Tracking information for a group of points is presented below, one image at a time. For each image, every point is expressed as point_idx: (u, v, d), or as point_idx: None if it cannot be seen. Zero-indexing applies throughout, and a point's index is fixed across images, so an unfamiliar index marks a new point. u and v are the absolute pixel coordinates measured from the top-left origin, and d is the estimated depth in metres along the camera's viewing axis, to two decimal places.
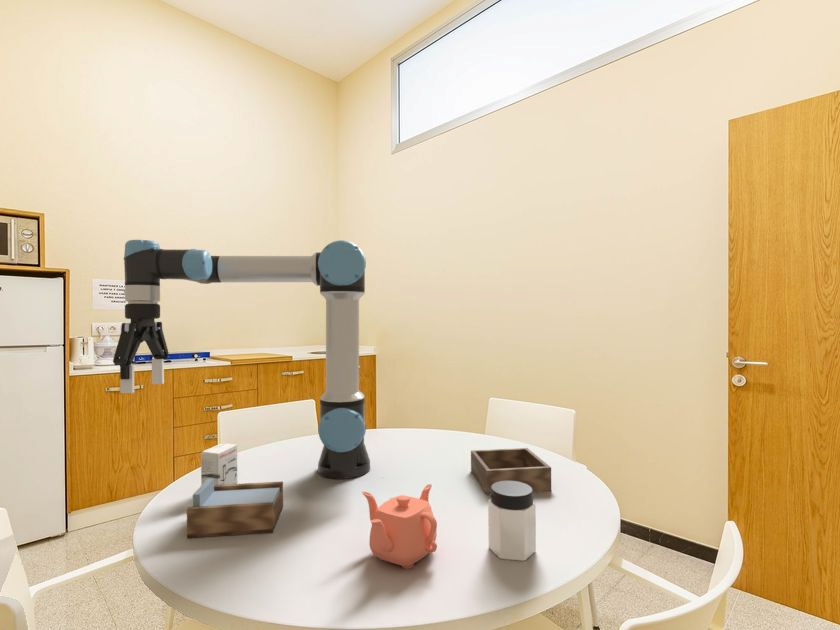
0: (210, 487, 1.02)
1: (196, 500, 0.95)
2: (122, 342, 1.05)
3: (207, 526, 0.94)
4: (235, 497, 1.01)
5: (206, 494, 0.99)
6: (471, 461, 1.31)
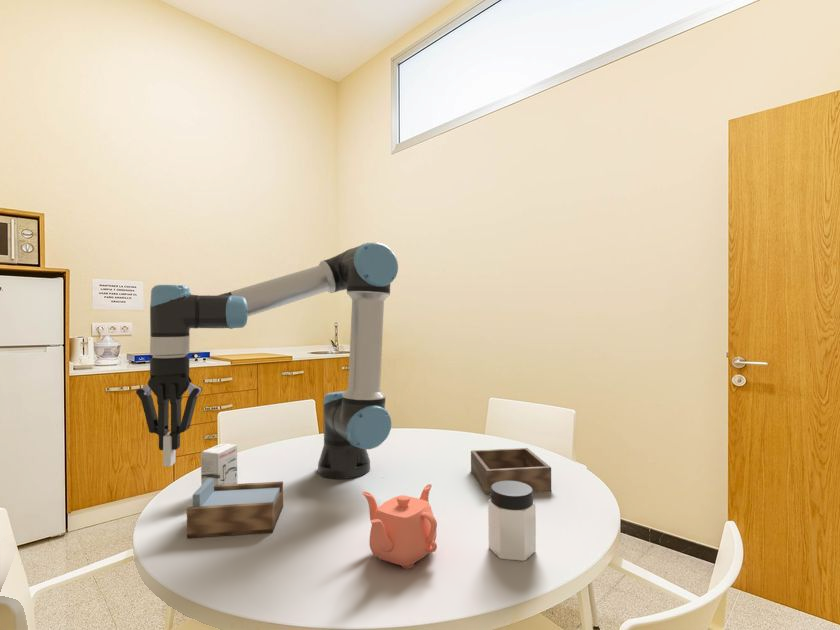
0: (210, 487, 1.02)
1: (196, 500, 0.95)
2: None
3: (207, 526, 0.94)
4: (235, 497, 1.01)
5: (206, 494, 0.99)
6: (471, 461, 1.31)
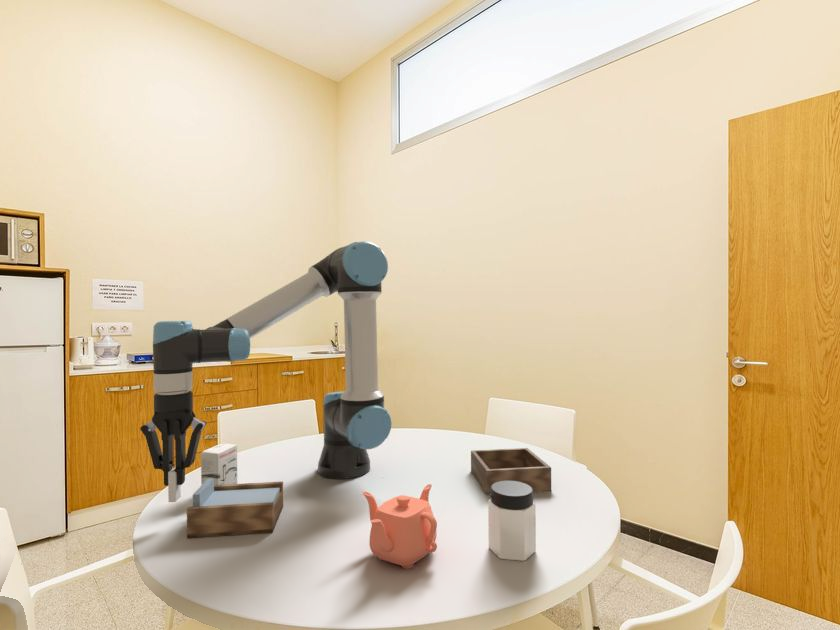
0: (210, 487, 1.02)
1: (196, 500, 0.95)
2: None
3: (207, 526, 0.94)
4: (235, 497, 1.01)
5: (206, 494, 0.99)
6: (471, 461, 1.31)
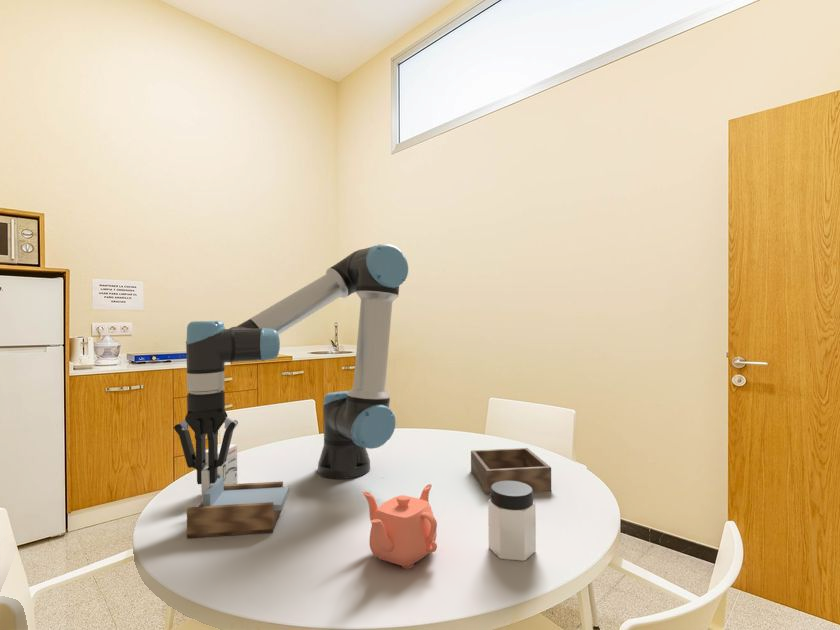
0: (220, 487, 1.02)
1: (206, 499, 0.95)
2: None
3: (207, 526, 0.94)
4: (245, 496, 1.01)
5: (216, 493, 1.00)
6: (471, 461, 1.31)
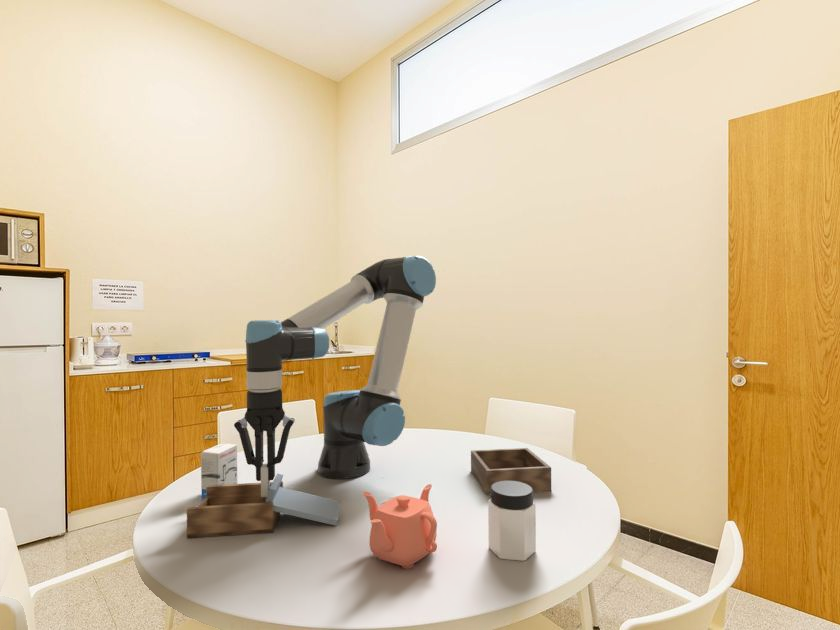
0: (279, 483, 1.04)
1: (270, 495, 0.97)
2: None
3: (207, 526, 0.94)
4: (301, 500, 1.03)
5: (277, 490, 1.01)
6: (471, 461, 1.31)
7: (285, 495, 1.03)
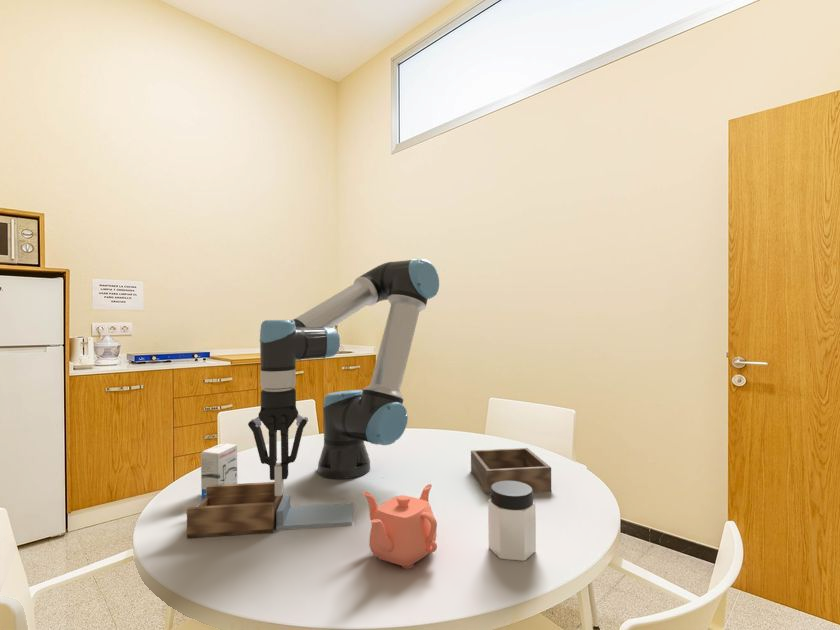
0: (288, 503, 1.04)
1: (279, 517, 0.97)
2: None
3: (207, 526, 0.94)
4: (313, 512, 1.03)
5: (286, 510, 1.01)
6: (471, 461, 1.31)
7: (296, 513, 1.03)
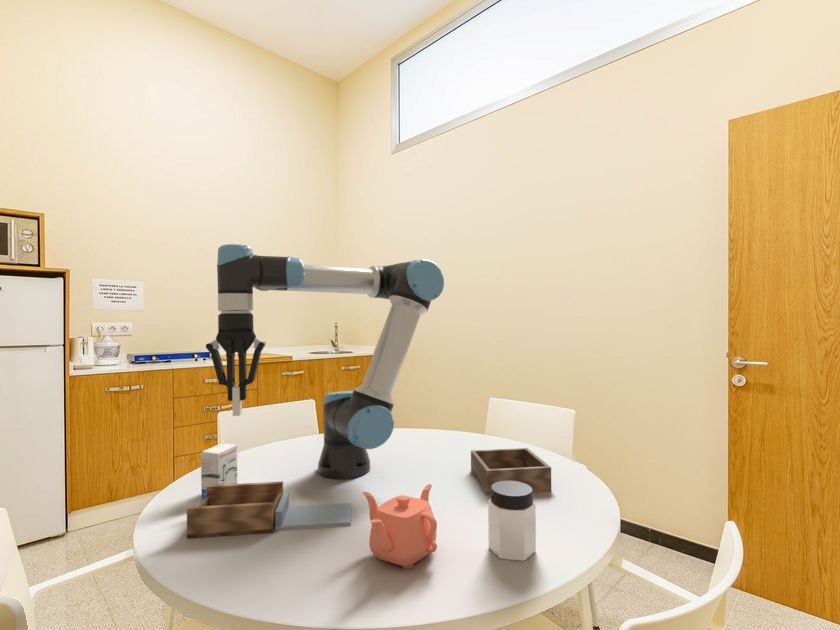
0: (287, 503, 1.04)
1: (278, 517, 0.97)
2: None
3: (207, 526, 0.94)
4: (312, 513, 1.03)
5: (285, 510, 1.01)
6: (471, 461, 1.31)
7: (295, 513, 1.03)
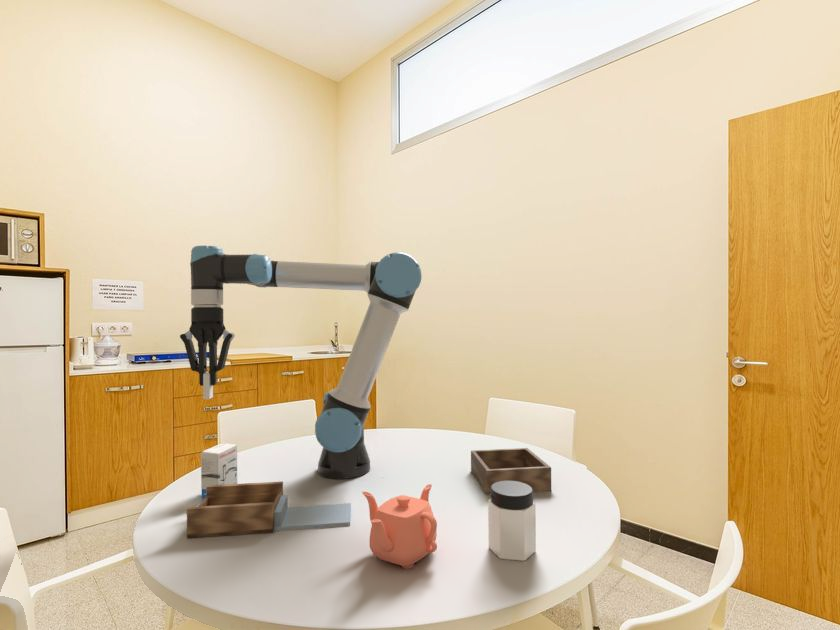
0: (286, 504, 1.04)
1: (277, 518, 0.97)
2: None
3: (207, 526, 0.94)
4: (311, 513, 1.03)
5: (284, 511, 1.01)
6: (471, 461, 1.31)
7: (294, 513, 1.03)
